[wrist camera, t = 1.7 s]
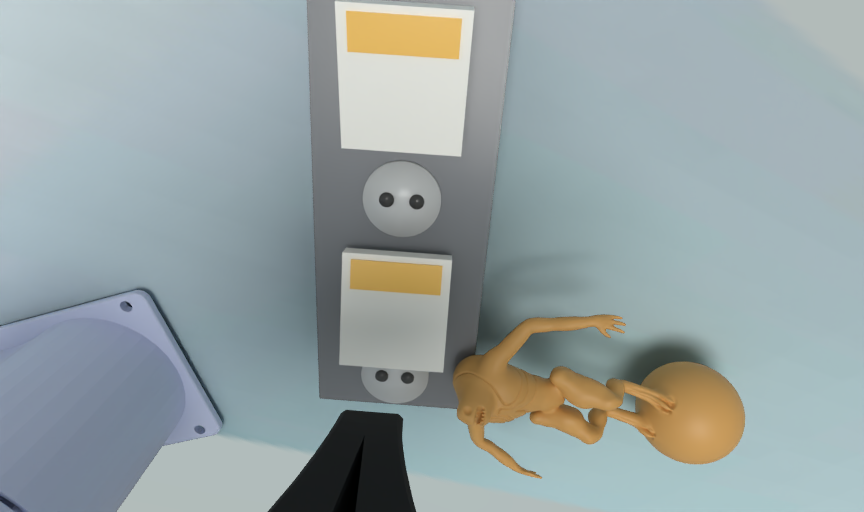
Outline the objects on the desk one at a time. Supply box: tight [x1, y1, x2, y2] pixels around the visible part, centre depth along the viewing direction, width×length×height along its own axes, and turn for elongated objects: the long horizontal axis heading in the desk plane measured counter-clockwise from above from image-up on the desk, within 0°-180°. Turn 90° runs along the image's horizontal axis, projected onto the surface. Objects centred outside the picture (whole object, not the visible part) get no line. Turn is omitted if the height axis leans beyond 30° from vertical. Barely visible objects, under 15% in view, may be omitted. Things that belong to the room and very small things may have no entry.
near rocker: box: [335, 0, 474, 157], centre depth 15 cm, size 4×4×1 cm
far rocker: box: [339, 248, 452, 373], centre depth 18 cm, size 4×4×1 cm
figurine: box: [453, 315, 745, 479], centre depth 20 cm, size 8×6×12 cm
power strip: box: [307, 0, 515, 409], centre depth 19 cm, size 15×6×3 cm, turn 176°
